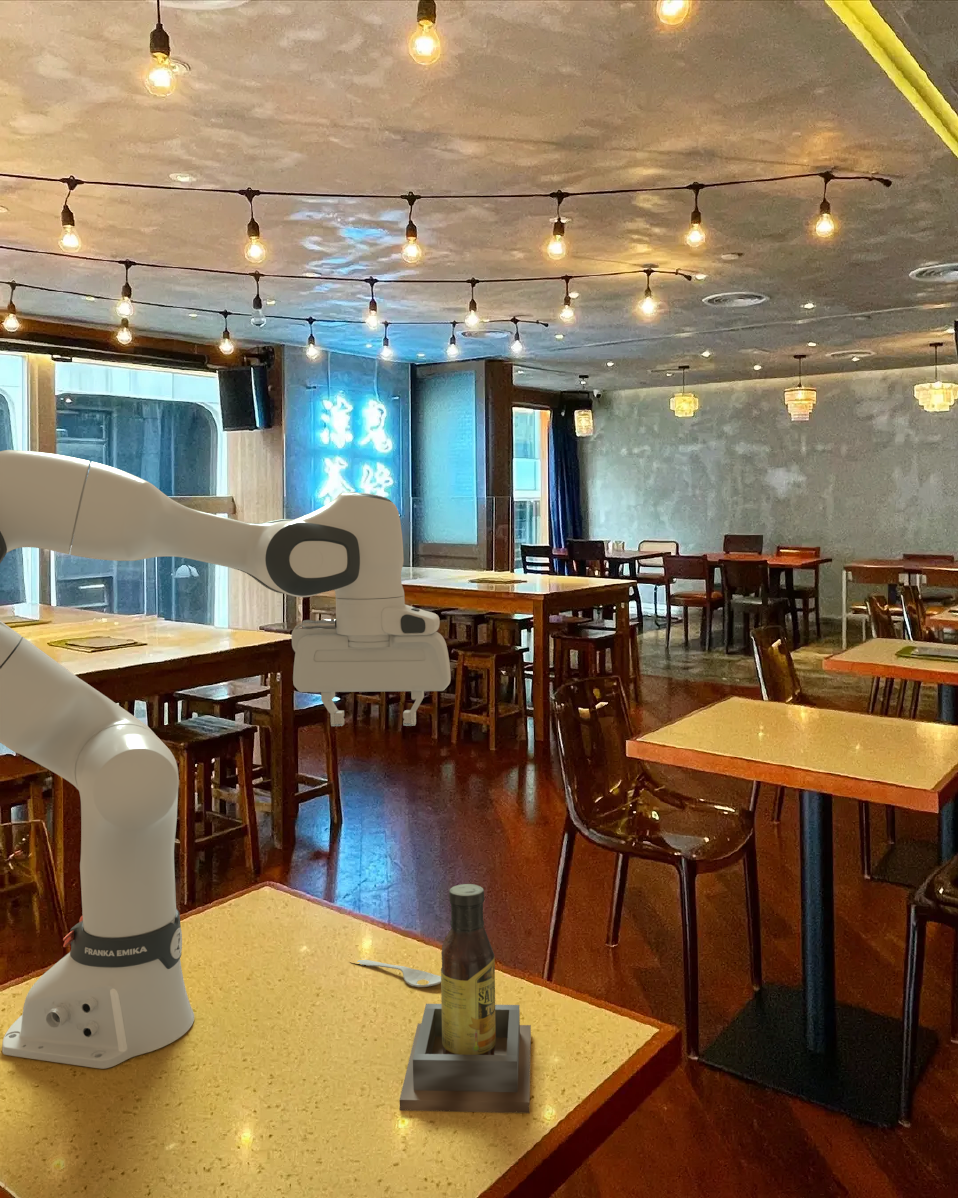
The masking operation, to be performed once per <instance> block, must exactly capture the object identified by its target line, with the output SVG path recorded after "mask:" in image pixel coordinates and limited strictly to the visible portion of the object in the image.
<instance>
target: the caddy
mask: <svg viewBox="0 0 958 1198" xmlns="http://www.w3.org/2000/svg"><path fill="white" fill-rule="evenodd" d="M424 1007H425V1008H424V1010H423V1014H422V1019H421V1022H420V1023H417V1025H416V1030H415V1034H414V1038H413V1042H412V1046H411V1050H410V1055H409V1057H408V1058H409V1059H408V1063H407V1066H406V1071H405V1074H404V1075H405V1076H404V1079H403V1084H402V1087H401V1088H402V1089H401V1091H400V1097H399V1099H398V1100H399V1111H409V1112H411V1111H414V1112H458V1113H459V1112H460V1113H462V1112H464V1113H467V1112H468V1113H500V1114H501V1113H507V1114H508V1113H511V1114H512V1113H513V1114H517V1113H518V1114H530V1109H531V1108H530V1106H531V1105H530V1101H531V1053H532V1052H531V1051H532V1050H531V1040H532V1039H531V1038H532V1029H531V1028H532V1027H531V1024H521V1020H520V1019H521V1018H520V1014H521V1013H520V1004H495V1027H496V1043H495V1047H494V1055H460V1054H444V1053H443V1044H442V1006H441V1003H425V1006H424Z"/></svg>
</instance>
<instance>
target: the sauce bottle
mask: <svg viewBox="0 0 958 1198" xmlns="http://www.w3.org/2000/svg"><path fill="white" fill-rule="evenodd" d="M448 897H449V904H450V916H451V918H450V927H451V928H450V930H449V932H448V933H447V935H445V937H444V940H443V943H442V945H441V969H440V976H441V983H440V988H441V990H440V991H441V993H440V994H441V995H440V996H441V997H440V999H441V1002H440V1004H441V1006H442V1044H443V1053H444V1054H460V1055H494V1047H495V1043H496V1027H495V1005H496V971H495V970H496V967H495V966H496V965H495V964H496V963H495V962H496V960H495V959H496V958H495V953H494V950H493V947H492V945H491V942H490V939H489V936H488V934H487V931H486V929H485V921H484V902H485V890H484V888H483V887H481V886H480V885H477V884H474V883H473V884H472V883H462V884H458V885H457V884H456V885H454V886H452V887H451V888H449V891H448Z"/></svg>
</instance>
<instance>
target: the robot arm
mask: <svg viewBox="0 0 958 1198" xmlns="http://www.w3.org/2000/svg"><path fill="white" fill-rule="evenodd" d="M21 548H33V549H42V550H47V551H48V550H49V551H53V552H57V553H61V554H65V555H69V554H70V555H71V556H75V557H81V558H85V559H91V560H92V559H94V560H100V561H101V560H103V561H114V562H116V561H119V562H134V561H135V562H136V561H141V560H146V559H151V558H161V557H171V558H172V557H174V558H175V557H176V558H185V559H189V560H194V561H198V562H203V563H208V564H212V565H217V566H221V567H225V568H229V569H230V568H231V569H234V570H238V571H240V572H243V573H245V574H247V575H248V576H250V577H251V578H253V580H255V581H256V582H257V583H259V584H260V585H262V586H263V587H265V588H267V589H268V590H271V591H273V592H275V593H278V594H281V595H282V594H284V595H285V594H286V595H288V596H291V597H294V598H295V597H297V598H309V597H314V596H317V595H320V594H323V593H327V592H330V591H334V593H335V594H334V595H335V619H320V620H313V619H305V620H302V621H301V623H299V624H297V625H295V627H294V628H293V630H292V631H291V647H292V650H293V652H294V653H295V654H294V662H293V671H292V672H293V674H292V681H293V684H292V685H293V686H294V688H296V690H297V691H298V692H299V693H320V697H321V698H320V699H321V702H322V703H323V705H324V707H325V708H326V710H327V711H328V714H329V715H330V726H331V727H343V726H344V725H345V718H344V717H345V710H339V709H338V708H337V706H336V704H335V702H334V701H333V699H334V698H335V697H336V693H339V692H340V693H350V692H353V693H355V692H359V693H360V692H362V693H365V692H366V693H367V692H410V693H411V698H410V699H411V700H413V701H414V703H413V705H412V706H411V708H410V709H406V710H405V709H404V711H403V713H402V718H403V722H402V724H403V726H406V727H407V726H409V727H412V726H416V724H417V710H418V708H419V707H420V705H421V703H422V701H423V699H424V697H425V692H443V691H445V689H447V688H448V686H449V685H450V684H451V679H452V677H451V663H450V657H449V650H448V647H447V643H446V640H445V638H444V637H443V635H442V634H441V633H440V632H438V630H439V628H440V624H441V623H440V617H439V615H438V614H436V613H435V612H432V611H428V610H424V609H421V608H418V607H415V606H411V605H408V604H406V601H405V590H404V587H403V583H402V570H403V566H404V560H405V559H404V542H403V531H402V522H401V518H400V513H399V510H398V507H397V506H396V504H395V503H394V502H393V501H392V500H390V499H389V498H388V497H384V496H381V495H378V494H377V495H376V494H371V493H367V492H356V491H344V492H341V493H339V494H338V495H337V497H335V498H334V499H332V500H331V501H330V502H328V503H326V504H325V505H323V506H321V507H320V508H318V509H316V510H314V511H312V512H310V513H308V514H305V515H303V516H300V517H297V518H295V519H294V518H293V519H292V518H282V519H281V518H280V519H275V520H271V521H270V520H269V521H265V522H260V523H257V522H255V523H254V522H246V521H241V520H237V519H233V518H229V517H225V516H221V515H217V514H213V513H207V512H204V511H200V510H197V509H193V508H191V507H188V506H186V505H183V504H181V503H179V502H177V501H176V500H174V499H173V498H170V497H169V496H168V495H167V494H165V493H164V492H163V491H161V490H160V489H159V488H158V487H156V486H155V485H154V484H153V483H151V482H149V481H148V480H145V479H143V478H141V477H139V476H136V475H135V474H132V473H130V472H127V471H124V470H122V469H119V468H117V467H113V466H110V465H107V464H103V463H99V462H96V461H91V460H87V459H83V458H77V457H74V456H69V455H63V454H57V453H49V452H44V451H42V452H41V451H35V450H34V451H33V450H19V449H16V450H15V449H4V450H1V451H0V564H1V563H2V561H3V560H4V559H5V558H6V555H7V554H9V553H10V552H11V551H13V550H16V549H21ZM301 627H302V628H301ZM0 744H2V745H3V746H5V747H6V748H7V749H8V750H10V751H12V752H13V753H16V754H19V755H21V756H22V757H25V758H27V759H29V760H31V761H33V762H35V763H36V764H38V765H40V766H41V767H43V768H45V769H47V770H49V771H51V772H52V773H54V774H56V775H58V776H59V777H60V778H62V779H64V780H66V781H67V782H69V784H71V785H73V786H74V787H75V789H76V790H78V792H79V797H80V798H79V799H80V817H81V818H80V819H81V820H80V822H81V825H80V826H81V829H80V831H81V833H80V834H81V835H80V836H81V837H80V840H81V841H80V862H79V872H80V888H81V890H80V891H81V908H82V909H81V910H82V912H81V913H82V915H81V916H80V918H79V920H78V921H79V922H78V923H76V924H75V925H74V926H72V927H71V928H70V930H69V931H70V932H69V933H67V934H66V935H65V937H63V939H62V941H64V943H63V946H62V947H63V948H66V947H67V946H69V944H70V948H71V949H70V951H69V952H68V953H67V954H65V955H64V956H63V957H62V958H61V959H59V960H58V961H57V962H56V963H55V964H53V966H51V967H50V968H49V969H47V971H45V972H44V973H43V974H42V975H41V976H40V977H39V978H38V979H37V980H36V981H35V982H34V983H33V985H32V986H31V988H30V989H29V991H28V992H27V994H26V996H25V998H24V1003H23V1009H22V1015H20V1016H19V1017H18V1018H17V1019H16V1020H15V1021H14V1022H13V1023H12V1024H11V1025H10V1027H9V1028H8V1030H7V1031H6V1033H5V1034H4V1036H3V1039H2V1054H3V1055H5V1056H12V1057H18V1058H25V1059H32V1060H39V1061H45V1062H46V1061H47V1062H52V1063H58V1064H59V1063H60V1064H67V1065H74V1066H80V1067H87V1068H92V1069H93V1068H95V1069H104V1070H105V1069H110V1068H112V1067H115V1066H116V1065H119V1064H121V1063H122V1062H125V1061H127V1060H128V1059H131V1058H134V1057H137V1056H140V1055H143V1054H148V1053H150V1052H154V1051H155V1050H156V1051H157V1050H159V1049H161V1048H163V1047H165V1046H167V1045H169V1044H171V1043H173V1042H175V1041H176V1040H178V1039H180V1038H181V1037H182V1036H184V1035H185V1034H187V1032H188V1031H189V1030H190V1029H191V1027H192V1026H193V1023H194V1021H195V1013H194V1011H193V1008H192V1005H191V1002H190V1000H189V997H188V996H189V995H188V993H187V990H186V989H187V988H186V985H185V980H184V975H183V969H182V963H181V957H182V950H183V934H182V927H181V916H180V915H181V914H180V911H179V910H178V909H177V901H176V900H177V899H176V878H175V876H176V875H175V873H176V872H175V841H176V832H177V823H178V822H177V821H178V820H177V819H178V803H179V802H178V801H179V800H178V799H179V786H180V785H179V783H180V781H179V780H180V779H179V778H180V776H179V767H178V762H177V760H176V758H175V756H174V754H173V753H172V751H171V749H170V748H168V746H167V745H166V744H165V743H164V742H163V741H162V740H161V739H160V738H159V737H158V735H156V733H155V732H154V731H153V730H152V729H151V728H150V727H149V726H148V725H147V724H146V723H144V722H143V721H142V720H140V719H139V718H137V717H136V716H134V715H133V714H132V713H130V712H129V711H128V710H126V709H125V708H123V707H121V706H120V705H119V704H118V703H116V702H114V701H113V700H112V699H110V698H109V697H108V696H106V695H105V694H103V693H102V692H100V691H99V690H97V689H96V688H94V687H93V686H91V685H90V684H88V682H86V681H85V680H83V679H81V678H79V677H78V676H77V675H76V674H74V673H73V672H71V671H70V670H68V669H67V668H66V667H65V666H63V665H62V664H61V663H60V662H58V661H56V659H55V658H53V657H51V656H50V655H48V654H47V653H46V652H44V651H43V650H41V649H40V648H39V647H38V646H36V645H35V644H33V643H32V642H31V641H29V640H28V639H27V638H25V636H22V634H20V633H19V632H17V631H15V629H13V628H11V627H10V626H8V625H7V624H6V623H5V622H3V621H2V620H1V619H0Z"/></svg>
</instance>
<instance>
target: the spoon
mask: <svg viewBox="0 0 958 1198" xmlns="http://www.w3.org/2000/svg"><path fill="white" fill-rule="evenodd" d="M357 962H360V963H359V964H362V965H361V966H364V965H366V966H365V967H380V968H387V969H395V970H399V971H401V972H402V975H403V980H404V982H405V983H406V984H408V985H409V986H412V987H416V988H427V987H431V986H437V985H439V984H441V975H438V974H434V973H431V972H427V971H425V970H419V969H415V968H411V967H407V966H403V965H395V964H389V963H385V962H379V961H374V960H369V959H365V960H358V961H357ZM422 980H423V981H424V980H425V981H427V982H428V983H427V984H419V983H418V981H422Z"/></svg>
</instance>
